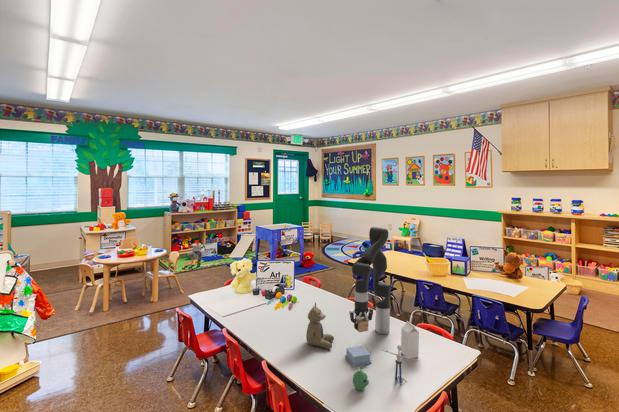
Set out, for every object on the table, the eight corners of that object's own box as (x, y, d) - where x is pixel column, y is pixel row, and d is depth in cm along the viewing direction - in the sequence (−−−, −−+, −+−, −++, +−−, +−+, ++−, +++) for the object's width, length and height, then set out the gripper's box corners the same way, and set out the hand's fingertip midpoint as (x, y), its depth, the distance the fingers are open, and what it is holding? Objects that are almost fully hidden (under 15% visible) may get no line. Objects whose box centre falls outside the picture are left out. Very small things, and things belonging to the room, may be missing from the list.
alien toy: (367, 395, 148) (367, 374, 147) (351, 391, 151) (351, 371, 150) (369, 386, 154) (370, 366, 154) (354, 382, 157) (354, 363, 157)
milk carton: (407, 359, 179) (408, 326, 178) (400, 352, 186) (401, 321, 185) (418, 357, 181) (419, 325, 180) (411, 351, 188) (412, 319, 187)
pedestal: (344, 356, 182) (345, 347, 182) (362, 353, 185) (362, 344, 185) (353, 366, 171) (353, 357, 171) (371, 363, 175) (371, 354, 174)
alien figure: (421, 385, 155) (422, 347, 154) (418, 391, 150) (419, 352, 149) (382, 372, 166) (383, 336, 165) (378, 377, 162) (379, 340, 161)
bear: (330, 354, 184) (331, 312, 183) (303, 351, 188) (304, 310, 186) (334, 337, 205) (335, 300, 203) (310, 335, 208) (311, 297, 206)
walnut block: (354, 328, 178) (354, 318, 177) (363, 326, 179) (363, 317, 179) (359, 332, 173) (359, 322, 172) (368, 330, 174) (368, 321, 174)
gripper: (369, 295, 180) (369, 323, 182) (346, 298, 176) (346, 327, 177) (376, 299, 173) (376, 329, 175) (352, 303, 169) (352, 333, 170)
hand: (361, 328), depth 176 cm, fingers closed on walnut block, 5 cm apart
